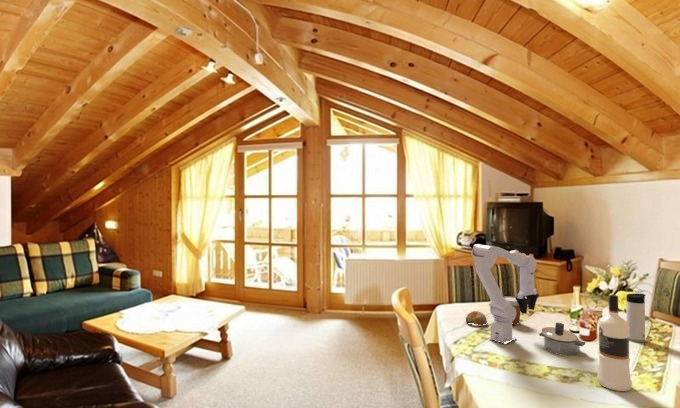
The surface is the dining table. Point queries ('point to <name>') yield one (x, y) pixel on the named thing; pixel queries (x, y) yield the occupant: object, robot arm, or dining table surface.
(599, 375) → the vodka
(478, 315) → the bread roll
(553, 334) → the lid
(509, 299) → the disposable coffee cup
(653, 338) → the dining table surface
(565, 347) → the pot
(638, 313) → the travel mug
